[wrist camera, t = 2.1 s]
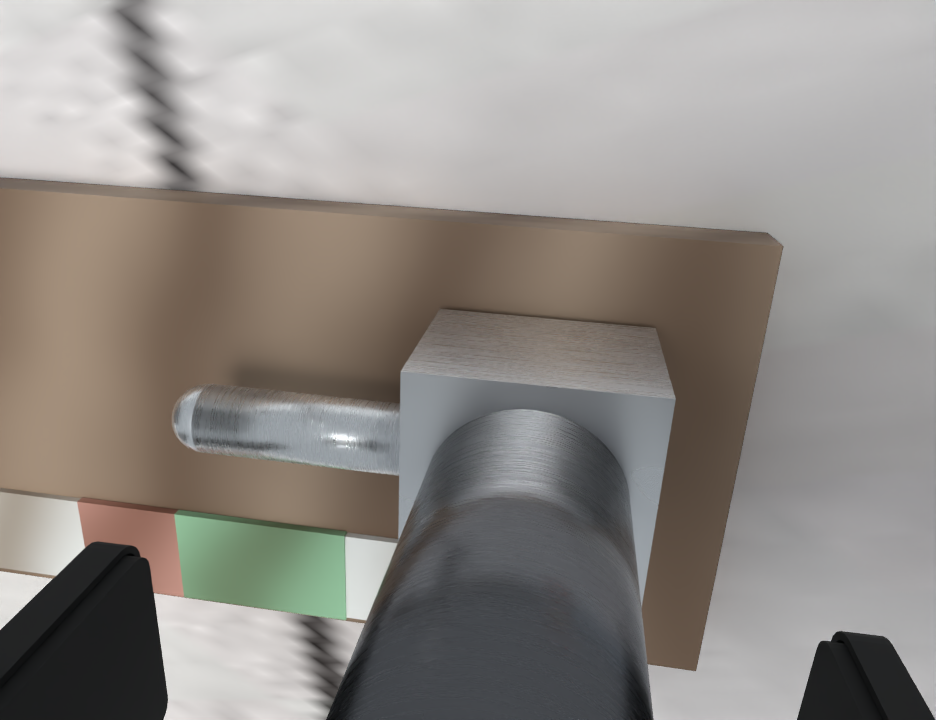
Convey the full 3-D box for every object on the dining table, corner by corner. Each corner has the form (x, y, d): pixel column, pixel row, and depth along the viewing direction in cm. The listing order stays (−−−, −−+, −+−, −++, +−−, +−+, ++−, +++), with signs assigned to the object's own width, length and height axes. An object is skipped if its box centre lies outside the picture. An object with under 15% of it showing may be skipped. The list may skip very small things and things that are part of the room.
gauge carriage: (655, 327, 17) (765, 716, 7) (609, 642, 20) (633, 1225, 10) (208, 288, 18) (-282, 559, 8) (234, 589, 21) (-85, 1055, 11)
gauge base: (767, 232, 17) (887, 334, 10) (688, 633, 22) (737, 892, 15) (-255, 159, 21) (-675, 199, 14) (-145, 518, 25) (-422, 684, 18)
